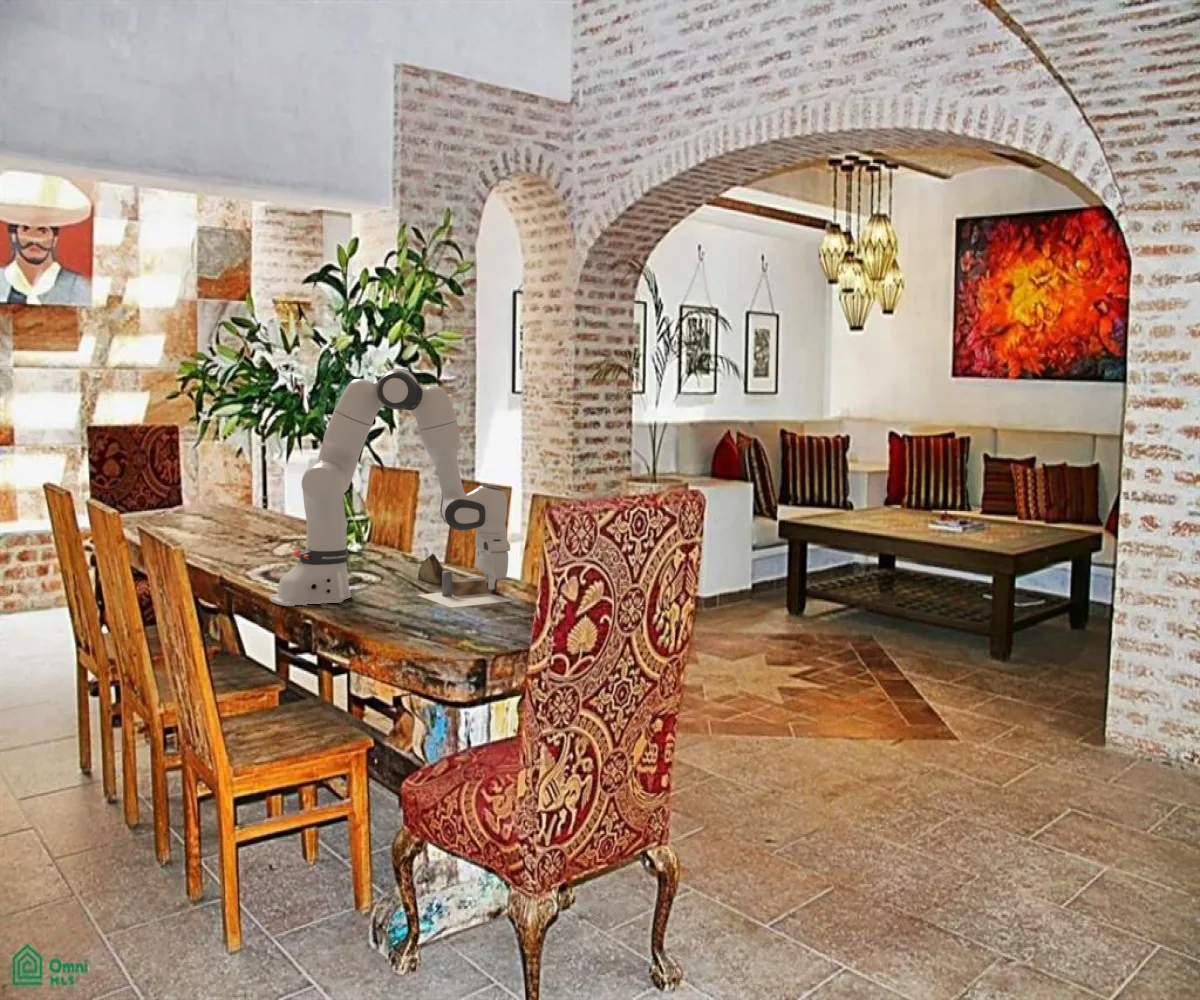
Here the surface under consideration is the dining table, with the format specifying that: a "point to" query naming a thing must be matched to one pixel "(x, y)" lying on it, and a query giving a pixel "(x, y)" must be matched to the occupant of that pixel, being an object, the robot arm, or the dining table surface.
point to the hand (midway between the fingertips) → (490, 588)
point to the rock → (431, 570)
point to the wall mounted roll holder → (459, 601)
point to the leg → (471, 587)
